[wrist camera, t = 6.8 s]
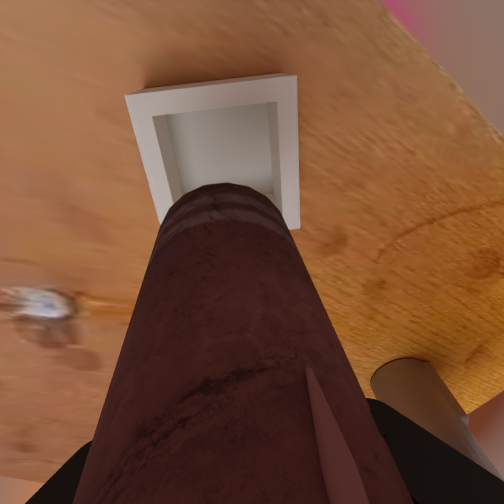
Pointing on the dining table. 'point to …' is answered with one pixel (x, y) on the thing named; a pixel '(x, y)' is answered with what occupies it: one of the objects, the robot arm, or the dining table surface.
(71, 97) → the dining table surface
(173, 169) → the well
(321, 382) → the can
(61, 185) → the dining table surface
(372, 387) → the robot arm
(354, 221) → the dining table surface
